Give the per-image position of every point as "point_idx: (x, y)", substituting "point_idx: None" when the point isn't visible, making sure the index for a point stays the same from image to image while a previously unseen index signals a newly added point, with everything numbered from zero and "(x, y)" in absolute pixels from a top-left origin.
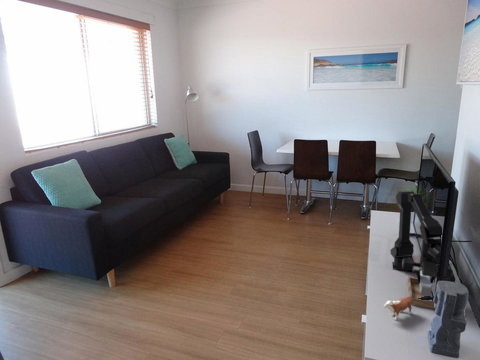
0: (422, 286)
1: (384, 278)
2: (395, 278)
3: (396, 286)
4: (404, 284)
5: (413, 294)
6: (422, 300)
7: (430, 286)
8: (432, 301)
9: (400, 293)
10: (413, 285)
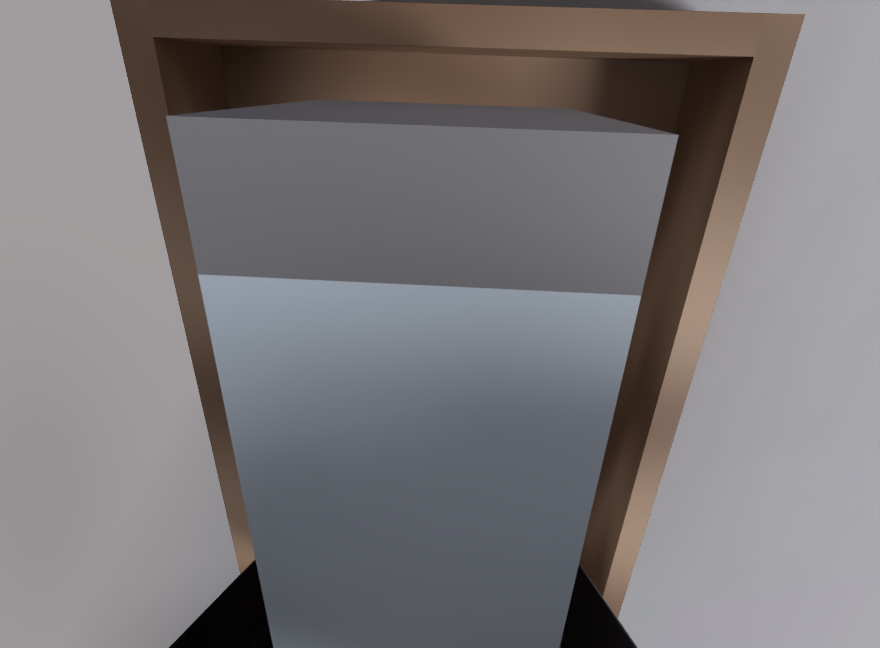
0: (650, 158)
1: (860, 595)
2: (713, 614)
3: (765, 479)
4: None
5: None
6: (524, 8)
7: (244, 272)
8: None
9: (772, 334)
10: None
